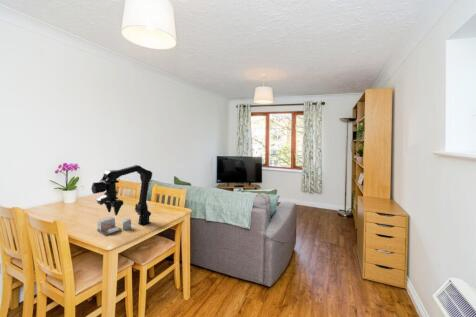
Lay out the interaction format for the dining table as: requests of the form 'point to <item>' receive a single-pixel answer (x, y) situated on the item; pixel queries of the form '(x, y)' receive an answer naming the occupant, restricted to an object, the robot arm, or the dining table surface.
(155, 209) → the dining table surface
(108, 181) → the robot arm
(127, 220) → the grey round-ended capsule
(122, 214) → the dining table surface
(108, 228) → the motor mount
